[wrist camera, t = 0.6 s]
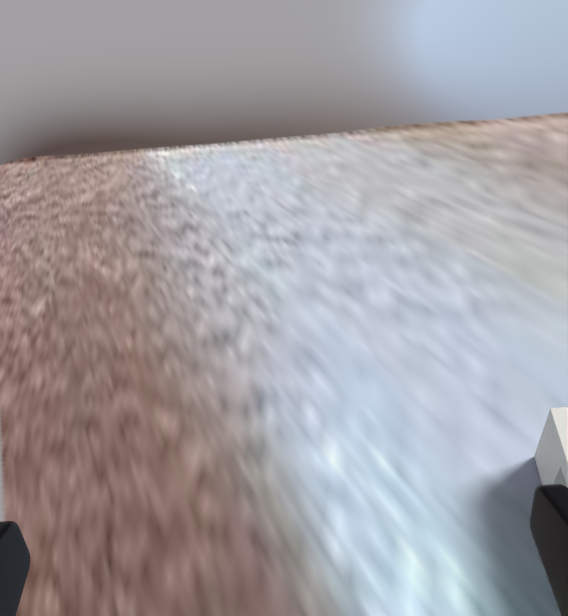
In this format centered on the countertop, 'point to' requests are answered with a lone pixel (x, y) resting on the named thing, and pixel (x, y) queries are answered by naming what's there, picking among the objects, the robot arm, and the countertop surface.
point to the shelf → (554, 448)
